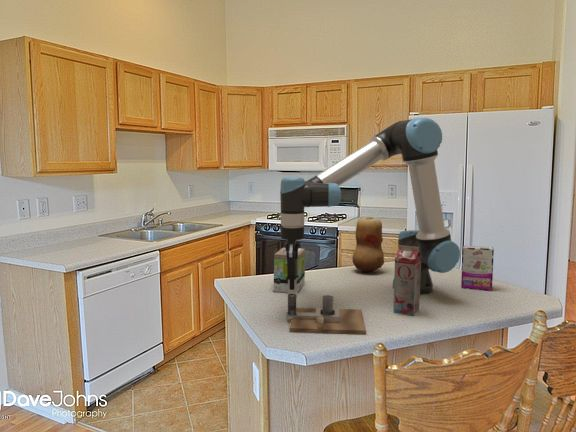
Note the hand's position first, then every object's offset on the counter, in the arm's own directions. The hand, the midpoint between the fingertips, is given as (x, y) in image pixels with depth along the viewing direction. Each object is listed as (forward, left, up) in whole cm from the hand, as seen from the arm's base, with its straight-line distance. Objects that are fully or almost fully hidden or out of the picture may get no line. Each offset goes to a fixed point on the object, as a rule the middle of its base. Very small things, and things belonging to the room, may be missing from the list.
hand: (292, 298), depth 140 cm
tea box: (+4, -31, -6) cm, 32 cm away
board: (-11, +6, -5) cm, 14 cm away
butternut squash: (-29, -58, -6) cm, 65 cm away
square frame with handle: (-7, +6, -4) cm, 10 cm away
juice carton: (-37, -6, -6) cm, 38 cm away
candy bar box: (-69, -36, -6) cm, 78 cm away
